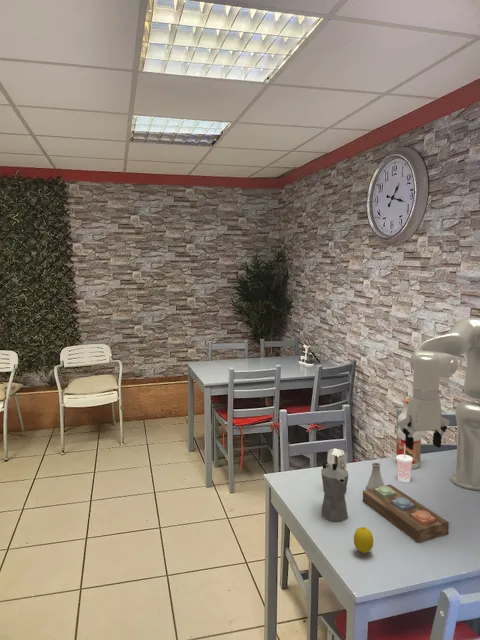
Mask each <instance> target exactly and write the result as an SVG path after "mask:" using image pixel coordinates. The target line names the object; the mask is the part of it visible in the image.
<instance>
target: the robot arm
mask: <svg viewBox="0 0 480 640" xmlns="http://www.w3.org/2000/svg"><path fill="white" fill-rule="evenodd" d="M463 354H465V355H466V368H465V369H466V370H465V375H464V376H465V377H464V382H463V383H464V384H463V391H464V394H465V396H467V397H468V398H472V399H477V400H480V317H463V318H461V319H459V320H458V321H456V323H455V324H454V325H453V326H452V327H451V329H449V331H447V333H446V334H443V335H439V336H436V337H433V338H429V339H427V340H425V341H423V342H421V343H420V344H419V345H418V346H417V347H416V348H415V349H414V350H413V352H411V355H410V359H409V365H410V368H411V369H412V370H413V381H412V382H413V383H412V397H410V398H409V399H410V400H409V403H408V408H407V415H406V418H405V419H404V420H402V421H400V422H399V423H398V422H397V424H399V425H398V427H400V428H401V431H402V432H403V433H404V434H405V435H406V436H405V445H406V447H407V448H409V449H410V450H413V441H414V438H413V437H412V436H413V434H414V433H415V432H416V431H421V432H427V431H428V432H429V431H434V432H433V433H432V434H433V435H432V445H433V446H435V447H437V448H438V449H440V448H441V447H442V438H443V437H442V436H443V435H444V433H445V432H446V431H447V430H448V426H449V425H450V420H449V419H447V418H446V417H443V416H442V404H441V399H440V398H439V396H440V395H442V390H441V389H440V378H441V377H442V378H447V377H452V376H453V375H454V374H455V373H456V372H457V370H458V367H459V363H458V359H457V358H456V356H460V355H463ZM455 419H456V426H457V429H456V430H457V439H456V440H457V441H456V445H457V446H456V462H455V463H456V464H455V465H456V467H455V473H453V474H452V475H451V481H452V482H453V484H455V485H456V486H459V487H461V488H463V489H467V490H474V491H479V490H480V402H477V401H470V400H469V401H468V400H467V401H466V400H464V401H461V402H459V403H458V404H457V405H456V406H455ZM405 425H406V426H407V427H408V428H407V429H406V428H405Z"/></svg>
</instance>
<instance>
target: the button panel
mask: <svg viewBox="0 0 480 640" xmlns="http://www.w3.org/2000/svg"><path fill="white" fill-rule="evenodd" d="M384 485H385V484H384ZM385 486H388V487H390V488H391V489H392V490H393V491H395V492H396V496H392V497H388V498H382V497H381V496H379V495H378V494H376V493H375V488H373V489H368V490H367V489H365V490H362V502H363V503H364V504H365V505H367V506H369V508H370V509H372V510H373V511H375V512H376V513H377V514H379V515H380V516H381V517H383V519H385V520H387V521H388V522H389V523H391V524H392V525H394V526H395V527H396V528H397V529H399V530H400V531H401V532H403V533H404V534H405V535H406V536H408V537H409V538H410V539H412V540H413V541H414V542H416V543H417V544H420V543H423V542H426V541H430V540H433V539H436V538H440V537H443V536H446V535H449V528H450V526H449V525H450V522H449V521H448V520H447V519H445V518H444V517H442V516H440V515H439V514H437V513H435V512H434V511H432V510H431V509H430V508H428V507H426V506H425V505H423V504H422V503H420V502H419V501H416V499H414V498H413V497H411V496H410V495H408V494H406V493H404V492H403V491H401V490H400V489H398V488H396V487H395V486H393V484H386V485H385ZM377 488H378V487H377ZM399 497H403V498H407V499H409V500H410V502H411V503H413V504H414V508H413V509H409V510H405V511H401V510H399V509H398V508H396V507H395V506H394V505H392V500H396V498H399ZM418 510H424V511H427V512H429V513H430V514H431V516H433V517H434V518H435V522H434V523H430V524H427V525H423V526H422V525H421V524H419V523H418V522H417V521H415V520H414V519H412V518H411V514H412V513H415V512H416V511H418Z"/></svg>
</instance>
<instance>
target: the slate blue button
mask: <svg viewBox="0 0 480 640" xmlns="http://www.w3.org/2000/svg"><path fill="white" fill-rule="evenodd" d="M392 505H394V506H395V507H396V508H398V509H399V510H401V511H405V510H409V509H413V508H414V504H413V503H411V502H410V500H409V499H407V498H403V497H399V498H396V500H392Z"/></svg>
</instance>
